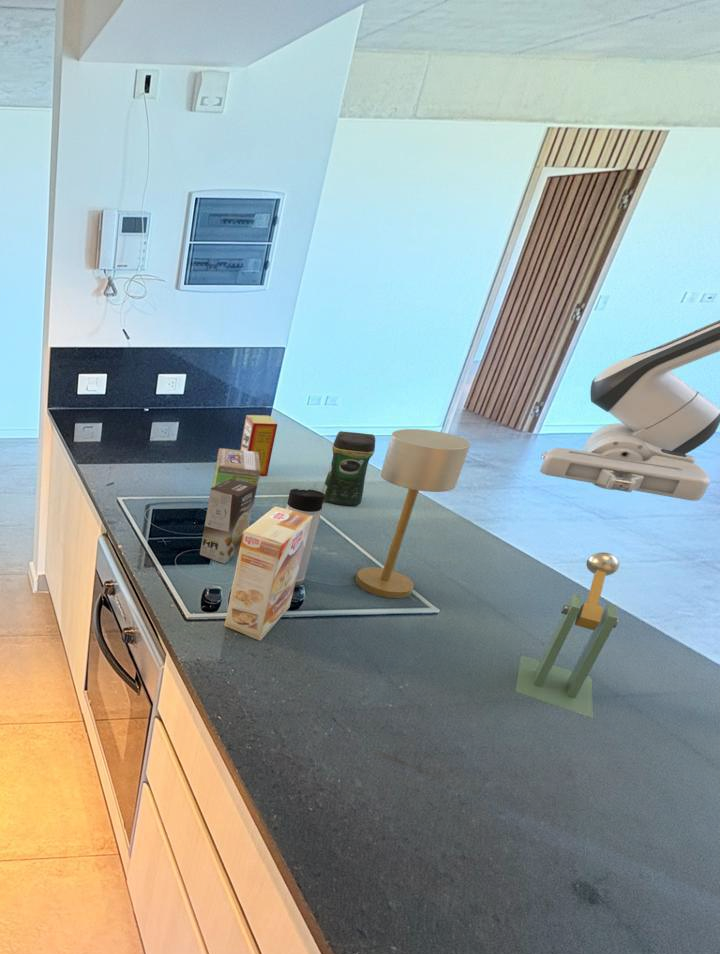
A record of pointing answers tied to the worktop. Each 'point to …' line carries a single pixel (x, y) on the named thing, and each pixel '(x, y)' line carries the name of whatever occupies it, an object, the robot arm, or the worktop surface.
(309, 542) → the travel mug
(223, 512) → the coffee box
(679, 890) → the worktop surface
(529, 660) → the green post frame stand
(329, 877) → the worktop surface
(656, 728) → the worktop surface
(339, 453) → the coffee jar
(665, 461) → the robot arm
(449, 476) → the table lamp
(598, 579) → the lever
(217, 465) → the tea box
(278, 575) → the coffeecake box
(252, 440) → the baking soda box
